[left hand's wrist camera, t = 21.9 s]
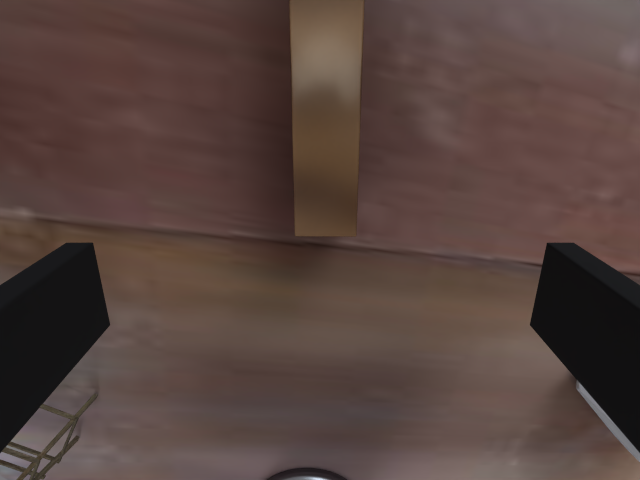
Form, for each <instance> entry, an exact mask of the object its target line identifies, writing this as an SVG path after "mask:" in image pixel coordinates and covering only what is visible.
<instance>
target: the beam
mask: <svg viewBox="0 0 640 480" xmlns="http://www.w3.org/2000/svg"><path fill="white" fill-rule="evenodd" d="M289 16H290V58H291V99H292V141H293V182H294V224H295V236H340V237H355V236H356V229H357V201H358V172H359V143H360V114H361V86H362V57H363V28H364V0H289Z"/></svg>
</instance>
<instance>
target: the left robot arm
mask: <svg viewBox="0 0 640 480" xmlns="http://www.w3.org/2000/svg"><path fill="white" fill-rule="evenodd" d="M109 326H110V322H109V317H108V313H107V308H106V303H105V298H104V293H103V289H102V284H101V279H100V274H99V269H98V265H97V260H96V255H95V250H94V246H93V243H65V244H64V245H62V246H61V247H59V248H58V249H56V250H54V251H53V252H51V253H50V254H48V255H47V256H45V257H44V258H42V259H40V260H39V261H37V262H36V263H34V264H33V265H31V266H29V267H28V268H26V269H25V270H23V271H22V272H20V273H19V274H17V275H15V276H14V277H12V278H11V279H9V280H8V281H6V282H5V283H3V284H1V285H0V453H1V452H2V450H3V449H4V448H5V447H6V446H7V445H8V443H9V442H10V441H11V440H12V439H13V438H14V436H15V435H16V434H17V433H18V432H19V431H20V429H21V428H22V427H23V426H24V425H25V424H26V422H27V421H28V420H29V419H30V418H31V417H32V415H33V414H34V413H35V412H36V411H37V410H38V408H39V407H40V406H41V405H42V404H43V403H44V401H45V400H46V399H47V398H48V397H49V396H50V394H51V393H52V392H53V391H54V390H55V389H56V387H57V386H58V385H59V384H60V383H61V382H62V380H63V379H64V378H65V377H66V376H67V375H68V373H69V372H70V371H71V370H72V369H73V368H74V366H75V365H76V364H77V363H78V362H79V361H80V359H81V358H82V357H83V356H84V355H85V354H86V352H87V351H88V350H89V349H90V348H91V347H92V345H93V344H94V343H95V342H96V341H97V340H98V338H99V337H100V336H101V335H102V334H103V333H104V331H105V330H106V329H107V328H108V327H109ZM530 326H531V327H532V328H533V329H534V330H535V331H536V333H537V334H538V335H539V336H540V337H541V338H542V340H543V341H544V342H545V343H546V344H547V345H548V347H549V348H550V349H551V350H552V351H553V352H554V354H555V355H556V356H557V357H558V358H559V359H560V361H561V362H562V363H563V364H564V365H565V366H566V368H567V369H568V370H569V371H570V372H571V373H572V375H573V376H574V377H575V378H576V379H577V380H578V382H579V383H580V384H581V385H582V386H583V387H584V389H585V390H586V391H587V392H588V393H589V394H590V396H591V397H592V398H593V399H594V400H595V401H596V403H597V404H598V405H599V406H600V407H601V408H602V410H603V411H604V412H605V413H606V414H607V415H608V417H609V418H610V419H611V420H612V421H613V422H614V424H615V425H616V426H617V427H618V428H619V429H620V431H621V432H622V433H623V434H624V435H625V436H626V438H627V439H628V440H629V441H630V442H631V443H632V445H633V446H634V447H635V448H636V449H637V450H638V452H639V453H640V285H639V284H637V283H635V282H634V281H632V280H631V279H629V278H628V277H626V276H625V275H623V274H621V273H620V272H618V271H617V270H615V269H614V268H612V267H611V266H609V265H607V264H606V263H604V262H603V261H601V260H600V259H598V258H596V257H595V256H593V255H592V254H590V253H589V252H587V251H586V250H584V249H582V248H581V247H579V246H578V245H576V244H575V243H547V246H546V250H545V255H544V260H543V265H542V269H541V274H540V279H539V284H538V289H537V293H536V298H535V303H534V308H533V313H532V317H531V322H530ZM268 480H346V479H345V478H343V477H342V476H340V475H337V474H335V473H332V472H329V471H326V470H321V469H312V468H301V469H293V470H288V471H285V472H281V473H279V474H277V475H275V476H273V477H271V478H269V479H268Z"/></svg>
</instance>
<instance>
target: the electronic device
mask: <svg viewBox="0 0 640 480" xmlns="http://www.w3.org/2000/svg"><path fill="white" fill-rule="evenodd" d="M576 389H577V390H578V391H579V392H580V394H581V395H582V396H583V397H584V399H585V400H586V401H587V402H588V404H589V405H590V406H591V407H592V409H593V410H594V411H595V412H596V414H597V415H598V416H599V417H600V418H601V420H602V421H603V422H604V423H605V425H606V426H607V427H608V428H609V430H610V431H611V432H612V433H613V434H614V436H615V437H616V438H617V439H618V440H619V441H620V442H621V443H622V444H623V445H624V446H625V448H626V449H627V450H628V451H629V452H630V453H631V454H632V455H633V456H634V457H635V458H636V459H637V460H638V461H639V462H640V453H639V452H638V450H637V449H636V448H635V447H634V446H633V445H632V443H631V442H630V441H629V440H628V439H627V438H626V436H625V435H624V434H623V433H622V432H621V431H620V429H619V428H618V427H617V426H616V425H615V424H614V422H613V421H612V420H611V419H610V418H609V417H608V415H607V414H606V413H605V412H604V411H603V410H602V408H601V407H600V406H599V405H598V404H597V403H596V401H595V400H594V399H593V398H592V397H591V396H590V394H589V393H588V392H587V391H586V390H585V389H584V387H583V386H582V385H581V384H580V383H579V382H578V380H577V382H576Z"/></svg>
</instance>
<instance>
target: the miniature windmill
mask: <svg viewBox="0 0 640 480" xmlns="http://www.w3.org/2000/svg"><path fill="white" fill-rule="evenodd" d="M97 396H98V395H97V394H94V395H93V396H92V397H91V398H90V399H89V400H88V402H87V403H86V404H85V405H84V406H83V407H82V408H81V409H80V410H79V411H78V413H77V414H76V415H75V416H73V415H71V414H68V413H65V412H63V411H60V410H57V409H55V408H52V407H50V406H47V405H44V404H42V405H41V406H40V407H39V408H42V409H44V410H47V411H50V412H52V413H55V414H58V415H60V416H63V417H66V418H68V419H71V420H70V421H69V422H68V424H67V425H66V426H65V427H64V428H63V429H62V430H61V431H60V432H59V433H58V435H57V436H56V437H55V438H54V439H53V440H52V441H51V442H50V443H49V444H48V446H47V447H46V448H45V449H44V450H43V451H42V452H38V451H36V450H33V449H30V448H27V447H24V446H22V445H19V444H16V443H13V442H9V443H8V445H9V446H11V447H14V448H17V449H20V450H23V451H25V452H28V453H31V454H34V455H37V456H38V457H37V458H34V457H32V456H29V455H26V454H23V453H20V452H18V451H15V450H12V449H9V448H6V447H5V448H4V449H3V450H2V452H4V453H7V454H10V455H13V456H16V457H18V458H21V459H24V460H27V461H30V462H32V463H31V464H30V465H29V467H28V468H27V469H26V468H23V467H20V466H17V465H15V464H12V463H9V462H6V461H3V460H0V465H3V466H6V467H9V468H12V469H15V470H18V471H20V472H23V473H22V474H21V475H20V476H19V478H18V479H17V480H23V479H24V478H25V477H26V476H27V475H28V474H29V475H31V477H30V480H40V479H44V478H45V476H46V475H45V474H46V472H47V471H48V470H49V469H50V468H51V467H52V466H53V465H54V464H55V463H56V462H57V463H59V462H60V461H61V459H62V456H63V455H64V454H65V453H66V452H67V451H68V450H69V449H70V448H71V447H72V446H73V445H74V444H75V443H76V442H77V441H78V439H79V436H76V437H75V438H74V439H73V440H72V441H71V442H70V443H69V444H68V442H69V440H70V437H71V435H72V433H73V430H74V428H75V426H76V423H77V421H78V419H79V417H80V415H81V414H82V413H83V412H84V411H85V410H86V409H87V408H88V407H89V405H90V404H91V403H92V402H93V401H94V400H95V399H96V398H97ZM72 424H73V426H72ZM71 426H72V428H71V430H70V433H69V435H68V437H67V440H66V442H65V445H64V447H63V449H62V451H61V452H60V453H59V454H58V455H57V456H56V457H52V456H50V455H47V454H46V453H47V452H48V451H49V450H50V449H51V448H52V447H53V446H54V444H55V443H56V442H57V441H58V440H59V439H60V438H61V437H62V436H63V434H64V433H65V432H66V431H67V430H68V429H69V428H70V427H71ZM42 458H45V459H48V460H51V462H50V463H49V464H48V465H47V466H46V467H45V468H44V469H43V470H42V471H41V472H40V473H38V472H36V471H37V469H38V466H39V464H40V460H41V459H42ZM33 468H34V469H33ZM32 469H33V471H32ZM34 476H35V478H34Z"/></svg>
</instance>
